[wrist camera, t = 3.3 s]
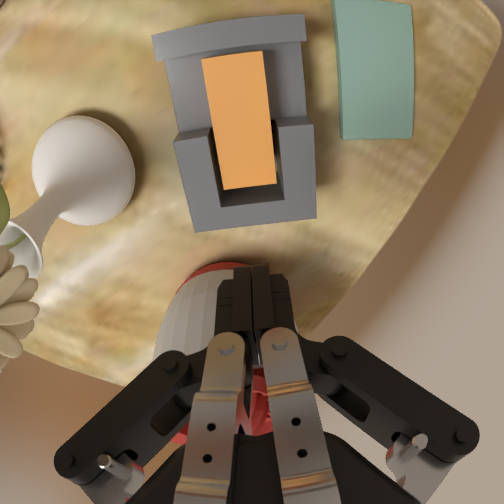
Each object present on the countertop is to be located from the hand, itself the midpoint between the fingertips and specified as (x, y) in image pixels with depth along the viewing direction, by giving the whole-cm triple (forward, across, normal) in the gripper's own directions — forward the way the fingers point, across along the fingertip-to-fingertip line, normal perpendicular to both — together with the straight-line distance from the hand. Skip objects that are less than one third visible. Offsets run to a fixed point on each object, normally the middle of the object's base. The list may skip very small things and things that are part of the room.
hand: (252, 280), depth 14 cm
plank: (+14, 0, -4) cm, 15 cm away
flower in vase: (+17, +15, -2) cm, 23 cm away
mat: (+17, -12, -7) cm, 22 cm away
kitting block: (+17, 0, -4) cm, 17 cm away
